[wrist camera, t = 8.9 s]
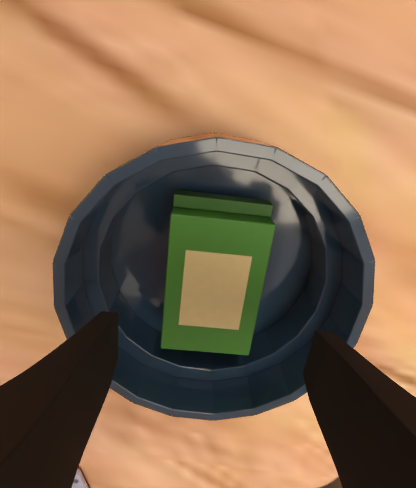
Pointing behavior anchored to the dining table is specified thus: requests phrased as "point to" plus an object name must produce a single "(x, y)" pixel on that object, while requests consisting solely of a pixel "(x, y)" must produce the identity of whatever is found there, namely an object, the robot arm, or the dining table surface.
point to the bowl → (155, 263)
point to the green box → (215, 271)
